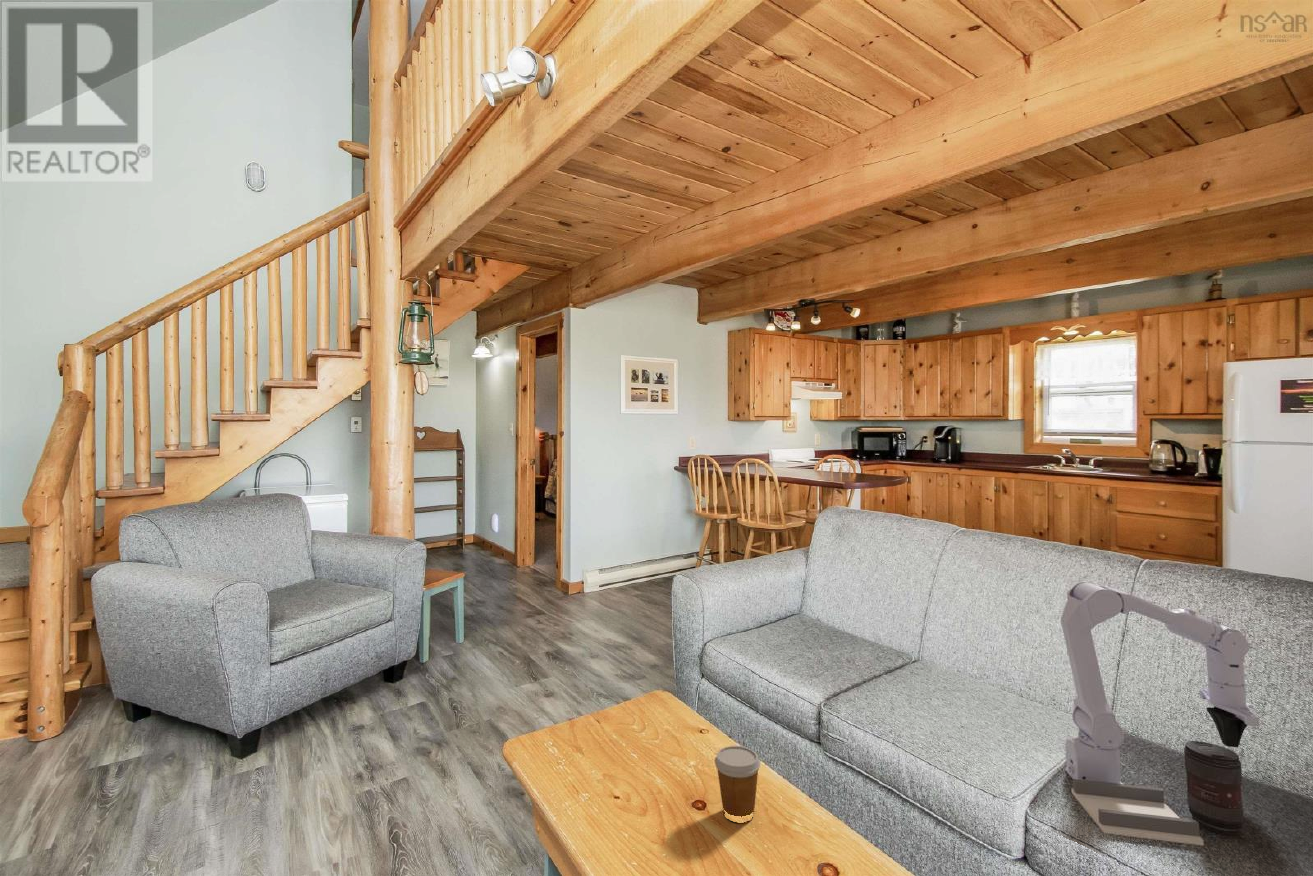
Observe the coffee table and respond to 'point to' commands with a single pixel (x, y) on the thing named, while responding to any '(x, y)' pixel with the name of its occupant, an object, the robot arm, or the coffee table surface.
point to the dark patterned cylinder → (1214, 788)
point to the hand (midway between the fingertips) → (1230, 745)
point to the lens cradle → (1134, 812)
